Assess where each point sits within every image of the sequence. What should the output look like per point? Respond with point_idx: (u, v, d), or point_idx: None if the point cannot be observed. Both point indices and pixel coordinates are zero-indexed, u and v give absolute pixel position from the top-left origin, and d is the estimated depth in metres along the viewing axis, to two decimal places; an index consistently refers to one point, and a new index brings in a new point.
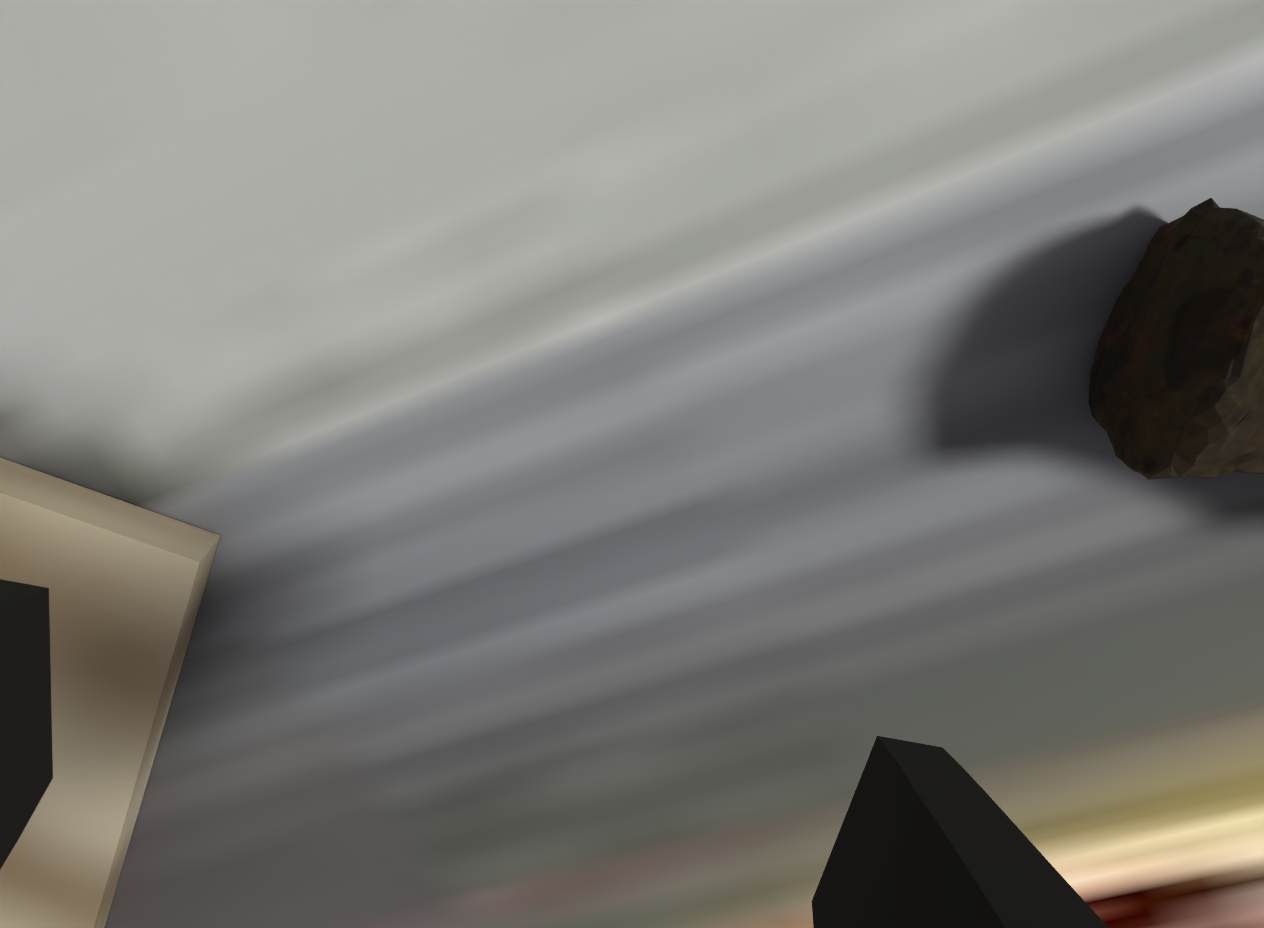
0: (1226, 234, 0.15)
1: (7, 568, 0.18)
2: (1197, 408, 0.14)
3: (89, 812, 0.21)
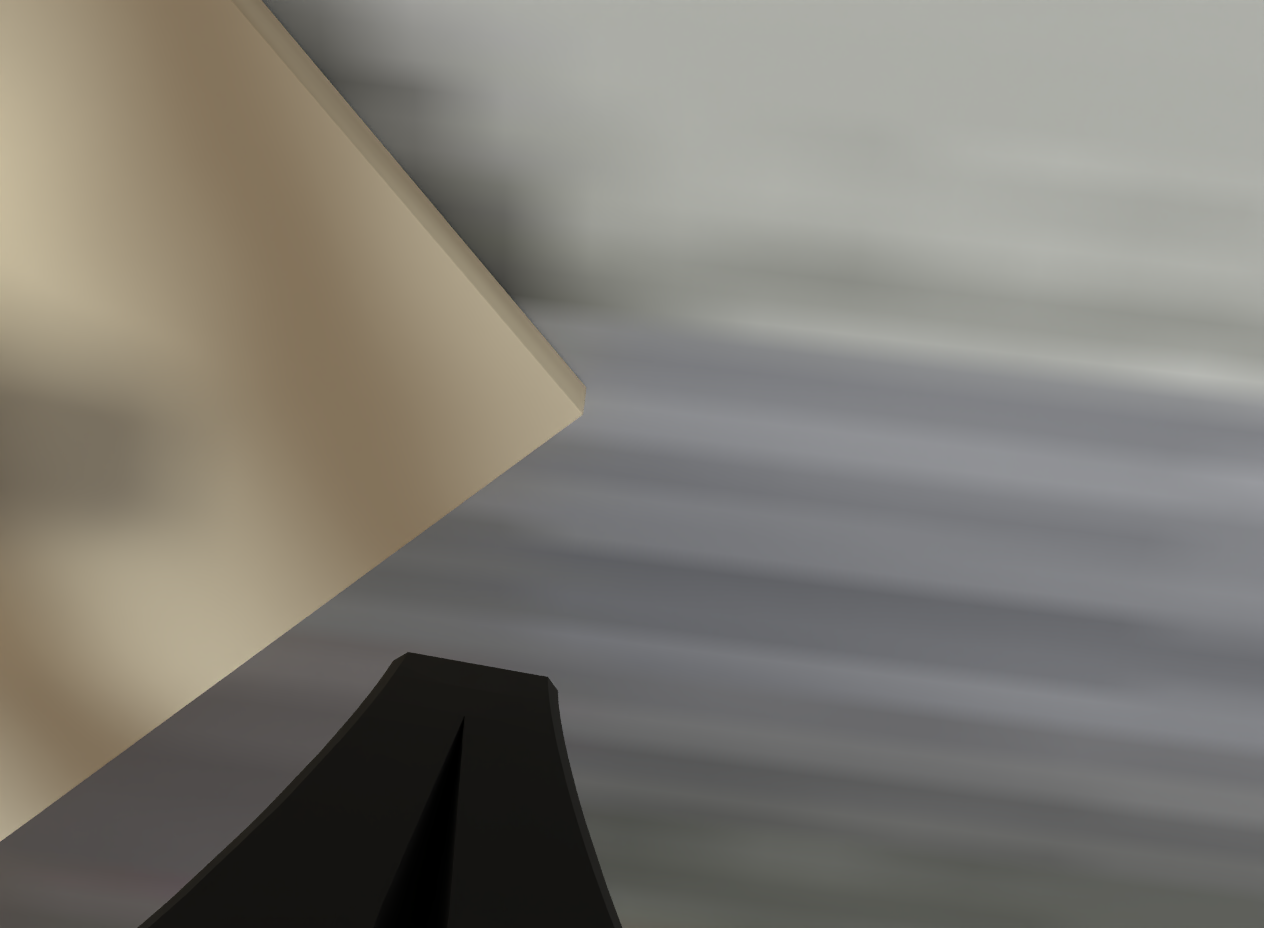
0: None
1: (322, 292, 0.12)
2: None
3: (182, 647, 0.14)
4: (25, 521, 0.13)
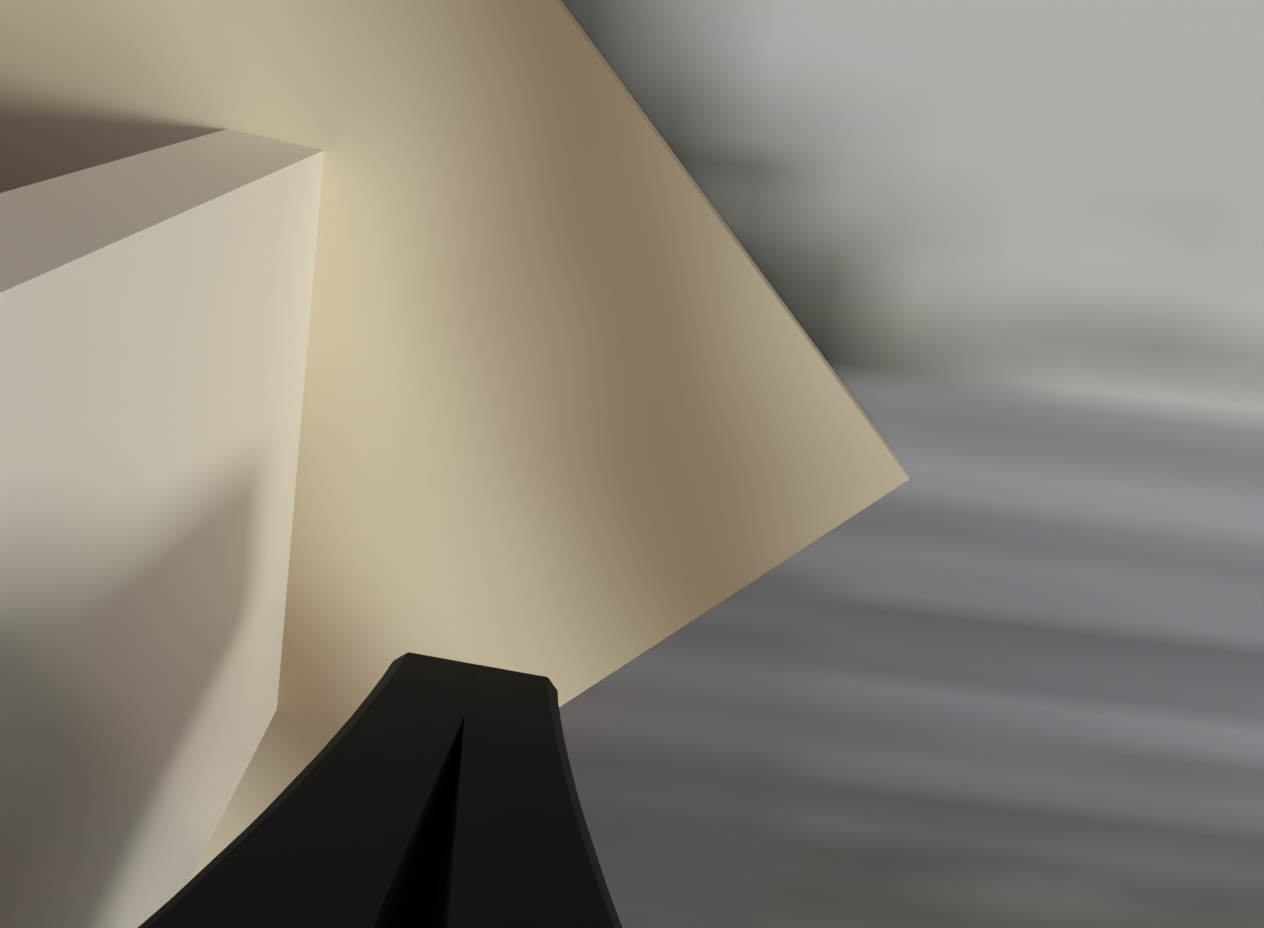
0: None
1: (672, 365, 0.12)
2: None
3: None
4: (352, 582, 0.14)
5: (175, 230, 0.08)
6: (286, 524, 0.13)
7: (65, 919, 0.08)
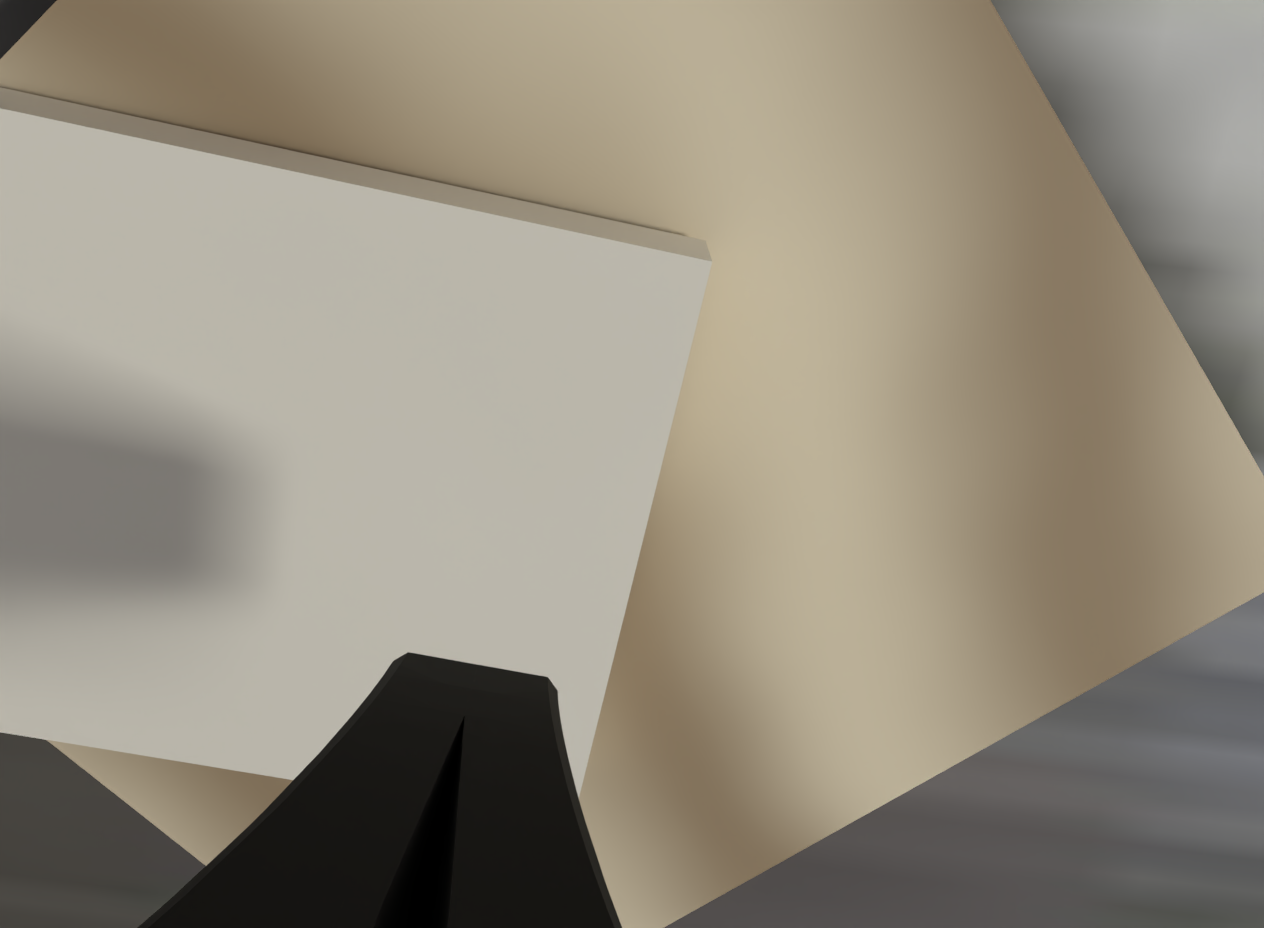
0: None
1: (1107, 458, 0.13)
2: None
3: (867, 770, 0.15)
4: (759, 659, 0.14)
5: (326, 189, 0.10)
6: (598, 627, 0.13)
7: (138, 596, 0.12)
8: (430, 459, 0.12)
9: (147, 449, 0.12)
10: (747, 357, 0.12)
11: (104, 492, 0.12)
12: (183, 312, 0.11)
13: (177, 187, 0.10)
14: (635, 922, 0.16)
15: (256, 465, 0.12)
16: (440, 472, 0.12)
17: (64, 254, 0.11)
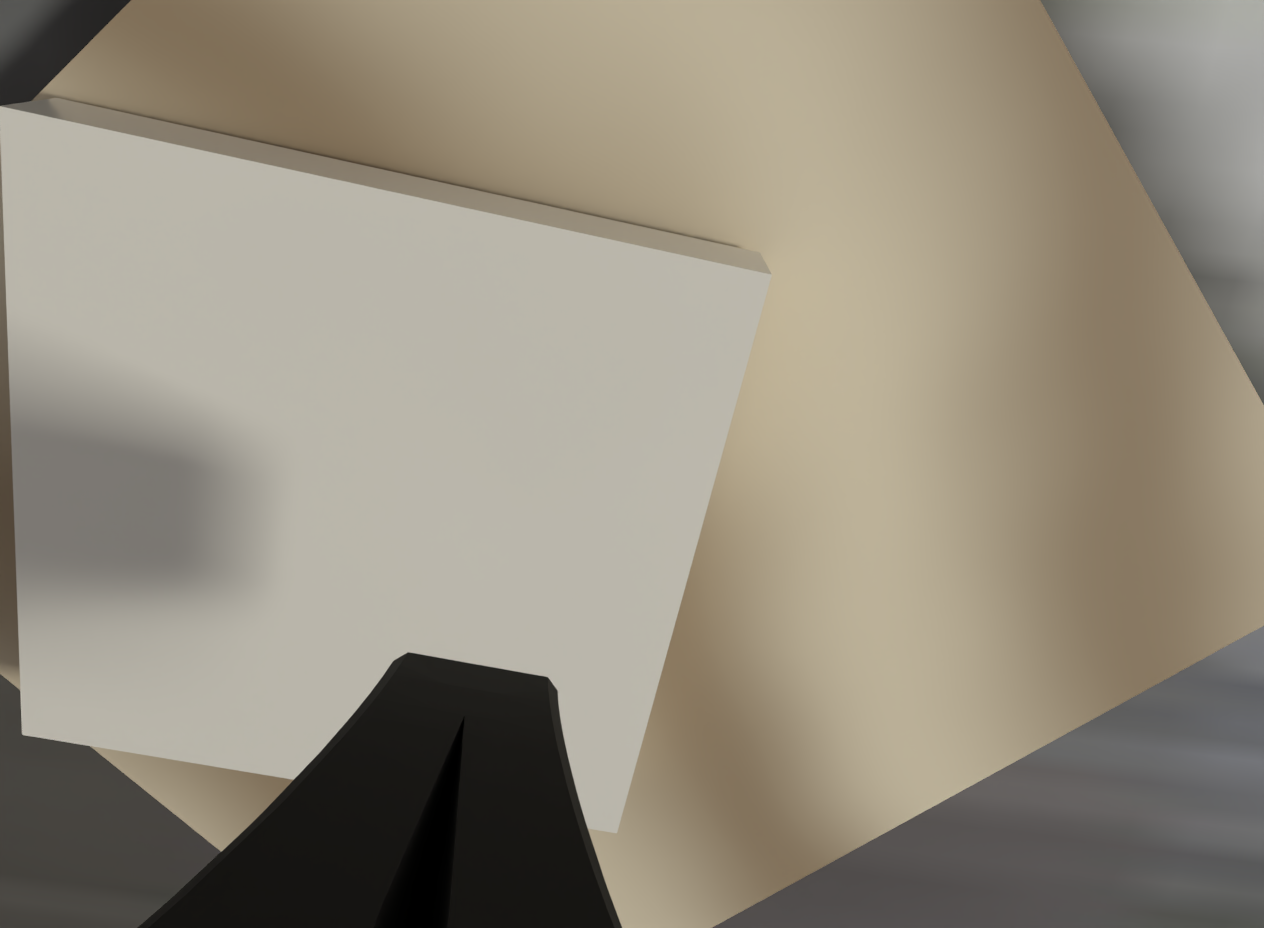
0: None
1: (1154, 469, 0.13)
2: None
3: (908, 777, 0.15)
4: (802, 667, 0.14)
5: (391, 202, 0.10)
6: (648, 636, 0.13)
7: (191, 604, 0.12)
8: (486, 469, 0.12)
9: (204, 459, 0.12)
10: (798, 368, 0.13)
11: (160, 501, 0.12)
12: (244, 323, 0.11)
13: (241, 199, 0.10)
14: (672, 927, 0.16)
15: (312, 475, 0.12)
16: (495, 482, 0.12)
17: (127, 265, 0.11)
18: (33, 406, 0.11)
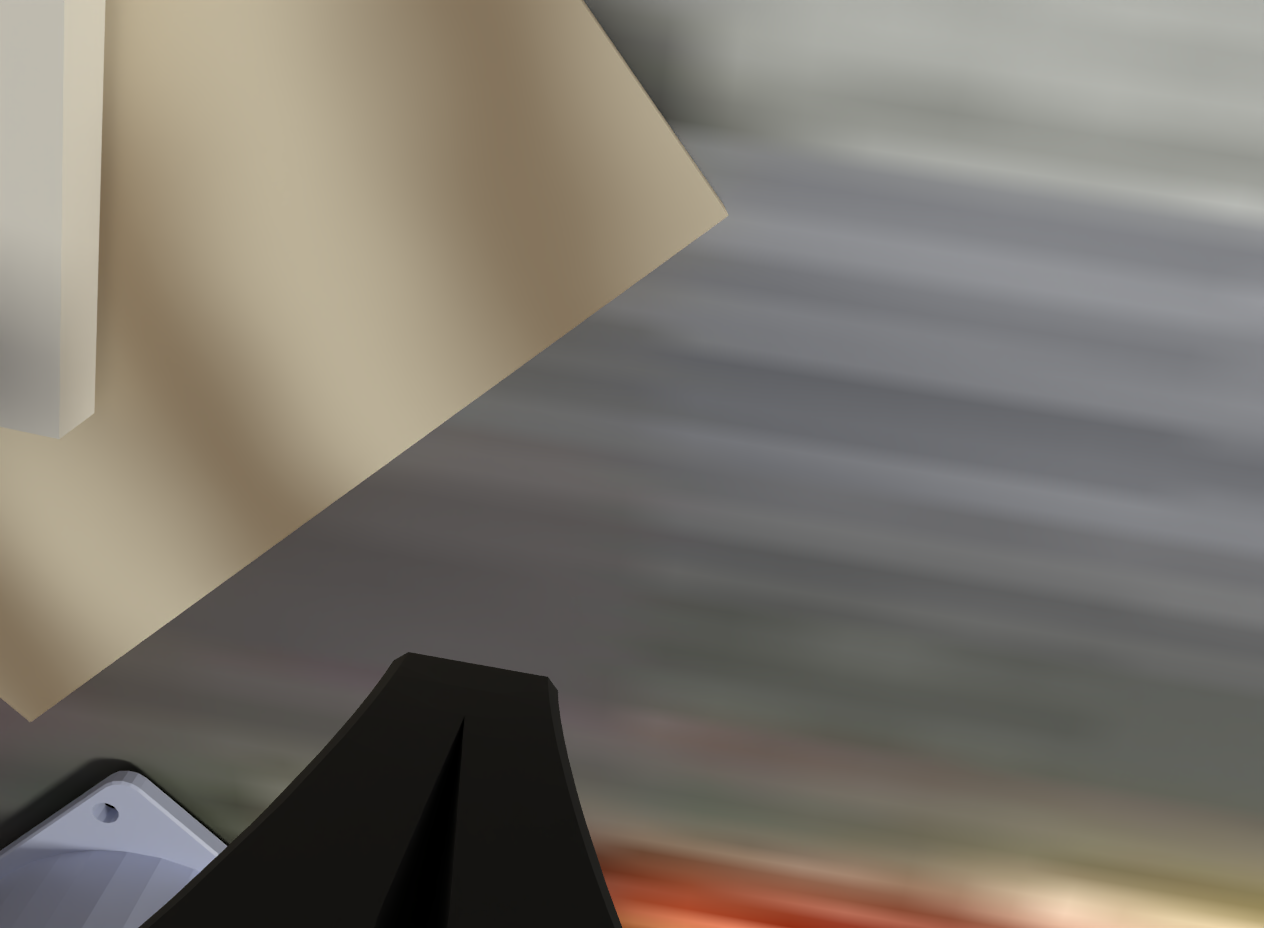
0: None
1: (520, 99, 0.15)
2: None
3: (368, 424, 0.17)
4: (247, 303, 0.16)
5: None
6: (41, 226, 0.14)
7: None
8: None
9: None
10: None
11: None
12: None
13: None
14: (185, 583, 0.18)
15: None
16: None
17: None
18: None
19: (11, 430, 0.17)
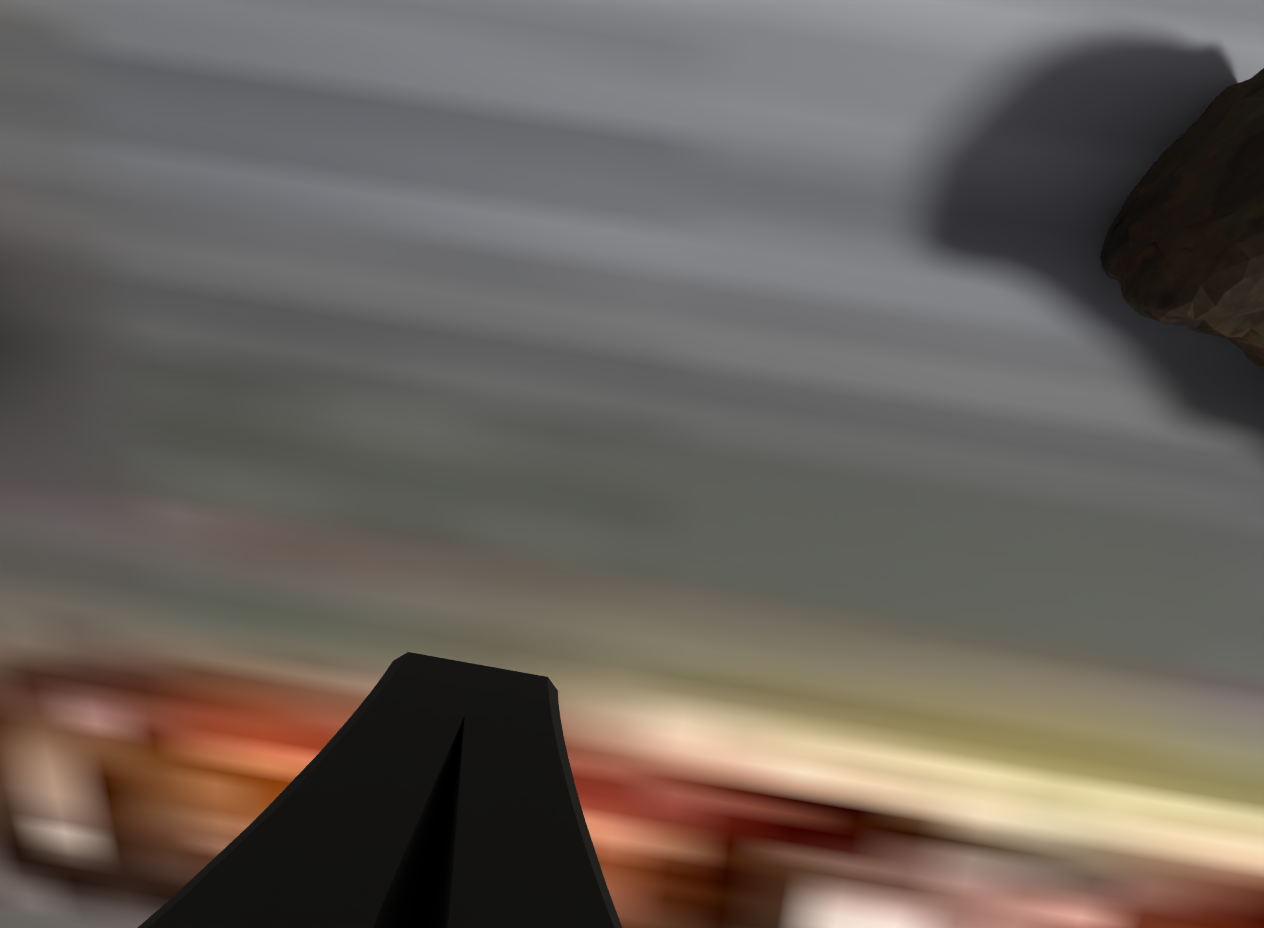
0: None
1: None
2: (1245, 232, 0.13)
3: None
4: None
5: None
6: None
7: None
8: None
9: None
10: None
11: None
12: None
13: None
14: None
15: None
16: None
17: None
18: None
19: None
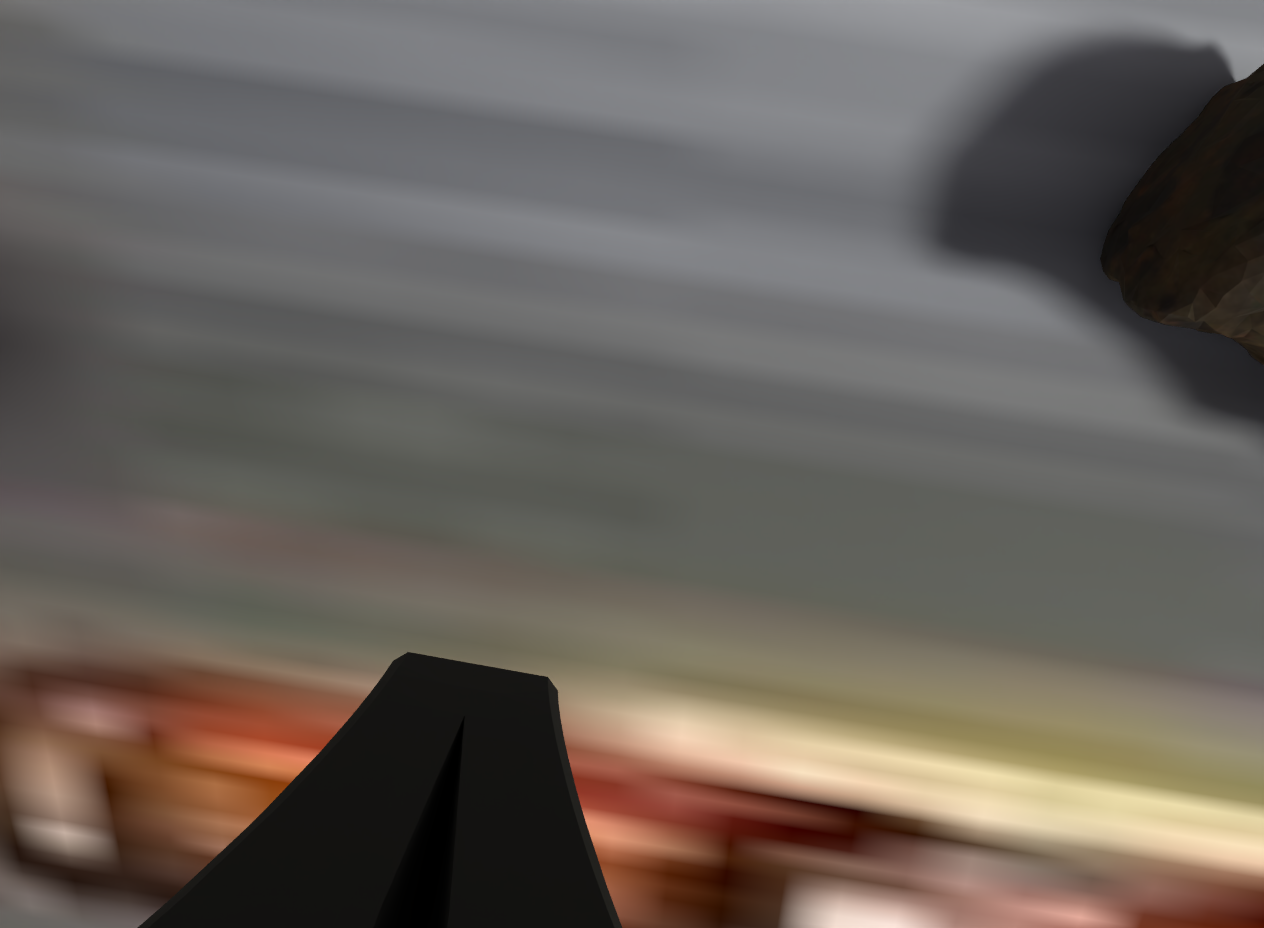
0: None
1: None
2: (1243, 234, 0.13)
3: None
4: None
5: None
6: None
7: None
8: None
9: None
10: None
11: None
12: None
13: None
14: None
15: None
16: None
17: None
18: None
19: None
